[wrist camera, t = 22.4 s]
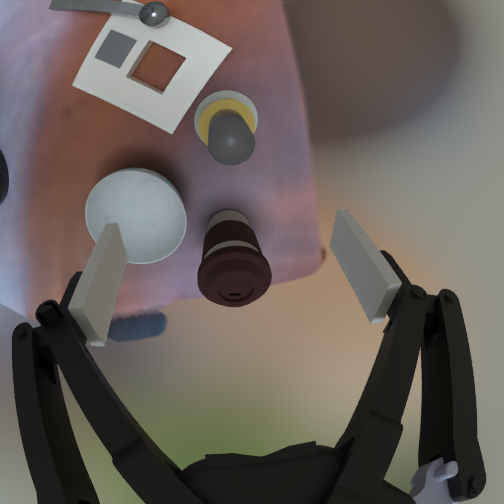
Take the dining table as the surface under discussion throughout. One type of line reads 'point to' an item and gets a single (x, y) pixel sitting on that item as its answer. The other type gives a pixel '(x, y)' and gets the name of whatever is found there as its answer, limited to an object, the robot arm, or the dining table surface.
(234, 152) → the plug
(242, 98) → the mat
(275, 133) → the dining table surface
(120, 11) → the grey lever handle
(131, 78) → the socket block
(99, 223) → the chinaware
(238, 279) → the coffee cup
